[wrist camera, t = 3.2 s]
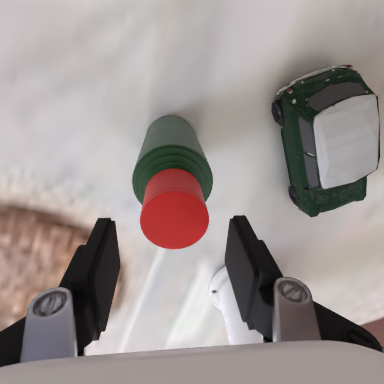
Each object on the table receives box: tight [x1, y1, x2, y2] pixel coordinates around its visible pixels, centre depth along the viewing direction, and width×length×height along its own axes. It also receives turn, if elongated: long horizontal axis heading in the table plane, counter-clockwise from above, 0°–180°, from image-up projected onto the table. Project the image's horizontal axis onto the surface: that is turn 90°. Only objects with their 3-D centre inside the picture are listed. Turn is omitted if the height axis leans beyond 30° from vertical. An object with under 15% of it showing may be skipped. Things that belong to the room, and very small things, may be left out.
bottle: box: [132, 116, 213, 205], centre depth 23 cm, size 6×6×18 cm
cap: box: [140, 169, 209, 249], centre depth 16 cm, size 4×4×4 cm
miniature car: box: [272, 65, 380, 217], centre depth 29 cm, size 9×18×8 cm, turn 20°
